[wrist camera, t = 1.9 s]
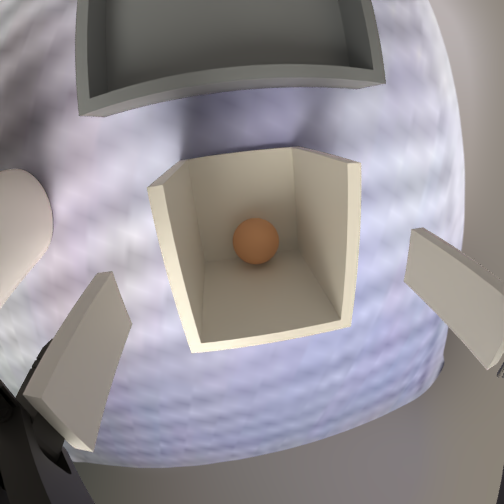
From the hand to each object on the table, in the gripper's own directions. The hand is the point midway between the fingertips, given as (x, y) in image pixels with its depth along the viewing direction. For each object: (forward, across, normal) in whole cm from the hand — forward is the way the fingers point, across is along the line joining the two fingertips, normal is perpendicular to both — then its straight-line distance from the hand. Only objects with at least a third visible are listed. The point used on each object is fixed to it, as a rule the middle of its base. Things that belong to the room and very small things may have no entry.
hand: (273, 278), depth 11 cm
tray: (+9, 0, +17) cm, 19 cm away
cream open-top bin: (+9, 0, 0) cm, 9 cm away
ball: (+7, 0, -1) cm, 7 cm away
